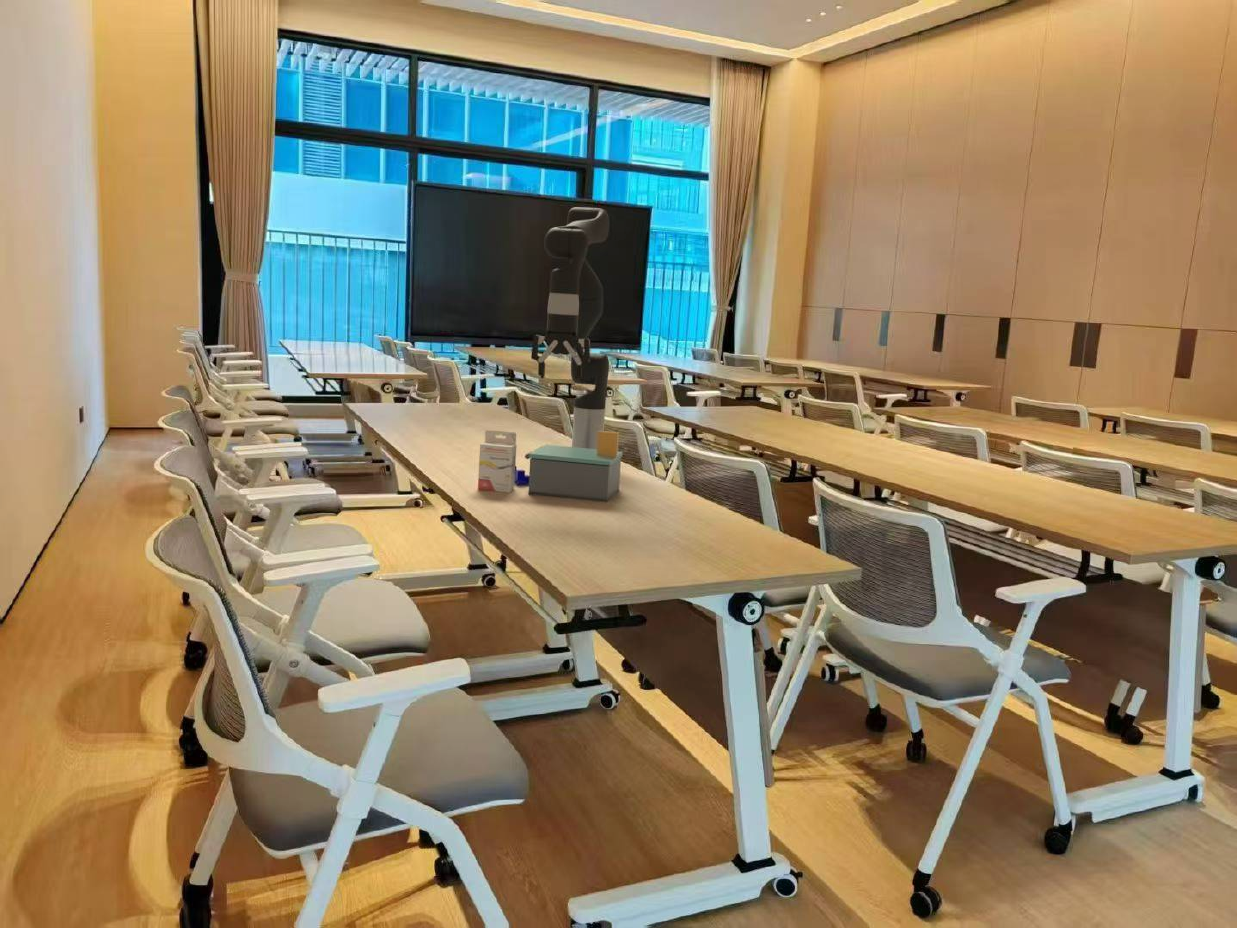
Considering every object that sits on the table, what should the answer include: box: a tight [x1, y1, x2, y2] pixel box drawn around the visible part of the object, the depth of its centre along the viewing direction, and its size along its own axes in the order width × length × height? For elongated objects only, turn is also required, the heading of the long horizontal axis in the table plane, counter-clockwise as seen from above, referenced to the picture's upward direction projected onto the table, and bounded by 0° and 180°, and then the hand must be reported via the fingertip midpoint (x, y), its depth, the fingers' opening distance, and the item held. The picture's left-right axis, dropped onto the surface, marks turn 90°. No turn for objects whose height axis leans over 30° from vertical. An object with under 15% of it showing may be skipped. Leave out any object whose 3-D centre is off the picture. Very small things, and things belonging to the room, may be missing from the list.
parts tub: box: [528, 456, 622, 503], centre depth 239 cm, size 16×20×9 cm
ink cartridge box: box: [477, 429, 517, 493], centre depth 236 cm, size 9×5×15 cm, turn 84°
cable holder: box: [514, 465, 529, 486], centre depth 248 cm, size 8×4×4 cm, turn 26°
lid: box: [524, 430, 624, 465], centre depth 238 cm, size 17×22×8 cm
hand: (559, 379), depth 232 cm, fingers open, 8 cm apart
